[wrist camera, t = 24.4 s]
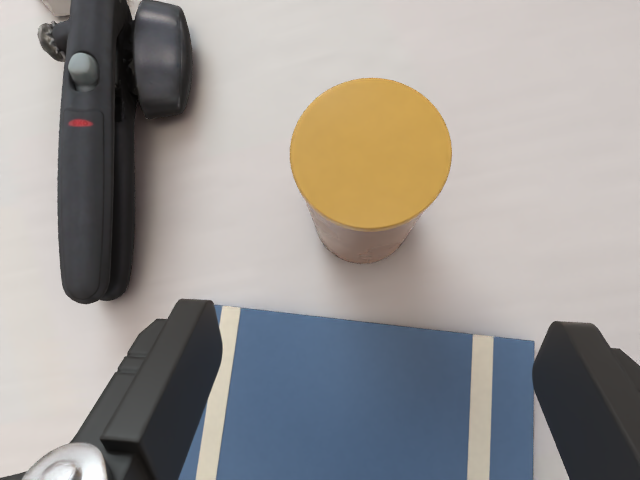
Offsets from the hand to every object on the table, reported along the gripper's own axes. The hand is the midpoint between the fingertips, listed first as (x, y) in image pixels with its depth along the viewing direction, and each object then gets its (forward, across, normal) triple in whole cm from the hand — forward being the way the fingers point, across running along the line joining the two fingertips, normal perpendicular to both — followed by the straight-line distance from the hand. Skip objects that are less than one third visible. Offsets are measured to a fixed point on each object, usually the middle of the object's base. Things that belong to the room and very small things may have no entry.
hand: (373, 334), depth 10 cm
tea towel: (+4, +1, +12) cm, 13 cm away
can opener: (+15, +14, +2) cm, 20 cm away
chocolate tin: (+12, 0, +4) cm, 13 cm away
